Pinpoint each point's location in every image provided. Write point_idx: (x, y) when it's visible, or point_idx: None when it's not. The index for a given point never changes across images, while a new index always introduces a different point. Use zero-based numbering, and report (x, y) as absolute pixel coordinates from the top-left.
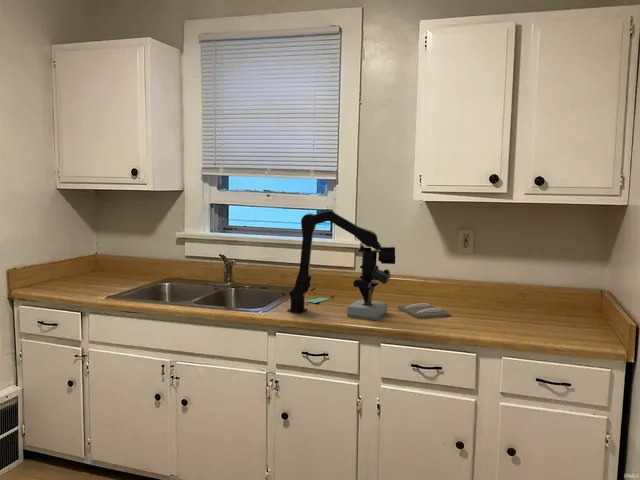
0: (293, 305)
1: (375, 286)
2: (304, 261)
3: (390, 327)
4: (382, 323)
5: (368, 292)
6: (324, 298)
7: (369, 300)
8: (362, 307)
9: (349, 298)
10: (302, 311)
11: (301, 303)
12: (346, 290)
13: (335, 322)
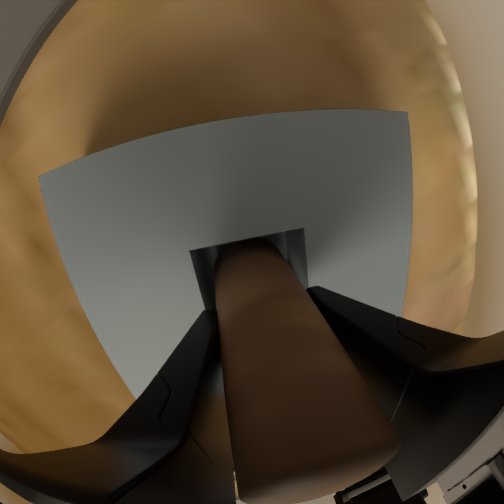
0: None
1: (119, 458)
2: None
3: (419, 15)
4: (392, 59)
5: (441, 330)
6: None
7: (298, 285)
8: (390, 259)
9: (62, 435)
10: None
11: None
12: (25, 449)
13: (463, 277)
